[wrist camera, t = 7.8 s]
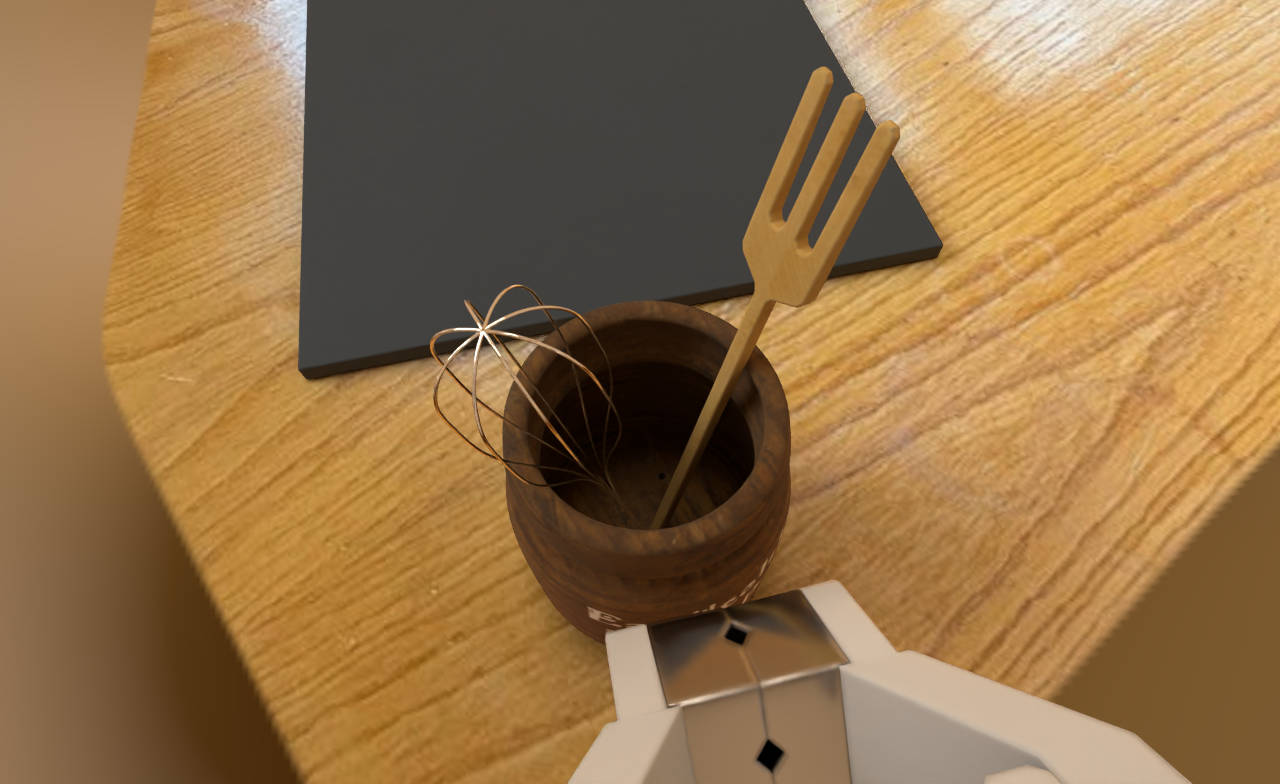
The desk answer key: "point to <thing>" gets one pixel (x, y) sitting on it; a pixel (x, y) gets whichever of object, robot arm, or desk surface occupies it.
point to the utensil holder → (670, 415)
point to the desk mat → (554, 163)
